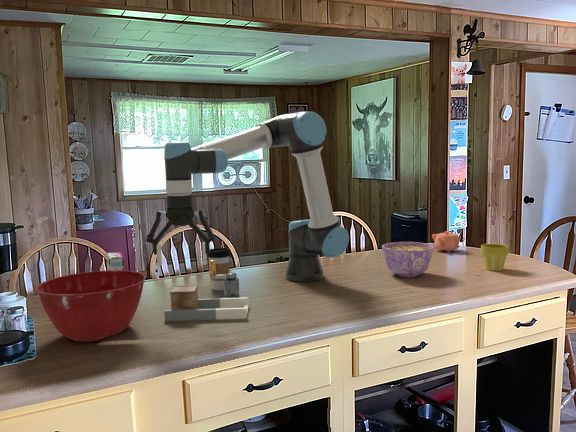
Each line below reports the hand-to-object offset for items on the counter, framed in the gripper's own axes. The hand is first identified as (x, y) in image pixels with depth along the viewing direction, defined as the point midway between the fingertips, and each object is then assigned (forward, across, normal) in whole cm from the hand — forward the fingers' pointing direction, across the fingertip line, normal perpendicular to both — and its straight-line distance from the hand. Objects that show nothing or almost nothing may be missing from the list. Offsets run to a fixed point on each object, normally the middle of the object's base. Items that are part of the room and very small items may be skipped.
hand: (182, 264), depth 153 cm
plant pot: (+16, -117, -50) cm, 129 cm away
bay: (+16, -7, 0) cm, 18 cm away
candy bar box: (+17, +27, -20) cm, 37 cm away
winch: (+16, -13, -14) cm, 25 cm away
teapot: (+16, -110, -90) cm, 143 cm away
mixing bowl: (+17, +23, +12) cm, 31 cm away
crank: (+8, -11, -14) cm, 19 cm away
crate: (+16, 0, 0) cm, 16 cm away
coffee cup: (+16, -7, -33) cm, 38 cm away
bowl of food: (+16, -80, -45) cm, 94 cm away
